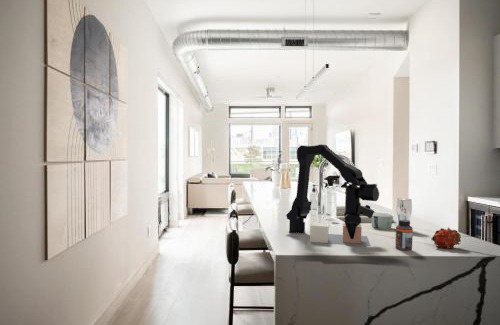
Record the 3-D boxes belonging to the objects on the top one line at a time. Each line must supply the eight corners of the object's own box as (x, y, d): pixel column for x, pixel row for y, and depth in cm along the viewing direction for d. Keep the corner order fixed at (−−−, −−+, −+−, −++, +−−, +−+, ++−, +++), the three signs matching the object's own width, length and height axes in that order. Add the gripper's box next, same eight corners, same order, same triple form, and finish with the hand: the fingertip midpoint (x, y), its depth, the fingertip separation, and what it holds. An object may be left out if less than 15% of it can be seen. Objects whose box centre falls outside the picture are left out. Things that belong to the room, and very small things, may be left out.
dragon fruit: (463, 252, 162) (433, 256, 161) (453, 236, 169) (424, 240, 168) (468, 237, 157) (437, 241, 156) (457, 221, 163) (427, 225, 163)
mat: (308, 243, 165) (308, 242, 165) (311, 233, 186) (311, 232, 186) (370, 247, 160) (370, 246, 160) (367, 237, 181) (367, 236, 181)
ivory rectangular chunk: (309, 241, 167) (310, 225, 167) (311, 238, 174) (311, 222, 174) (328, 242, 165) (328, 226, 165) (328, 239, 172) (328, 223, 172)
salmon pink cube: (342, 242, 167) (343, 226, 167) (342, 238, 174) (342, 223, 174) (361, 243, 165) (361, 227, 165) (360, 239, 172) (360, 224, 172)
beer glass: (412, 231, 197) (413, 200, 197) (397, 230, 199) (398, 199, 198) (409, 228, 204) (410, 198, 204) (395, 228, 206) (395, 198, 205)
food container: (389, 230, 199) (389, 216, 199) (365, 227, 206) (365, 214, 206) (397, 227, 209) (397, 214, 208) (374, 224, 216) (374, 212, 216)
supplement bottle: (392, 248, 160) (393, 219, 159) (407, 248, 160) (408, 219, 160) (399, 251, 154) (400, 221, 154) (415, 251, 154) (415, 221, 154)
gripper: (374, 202, 159) (373, 242, 159) (371, 197, 177) (370, 234, 177) (345, 201, 161) (344, 241, 161) (344, 196, 179) (343, 232, 179)
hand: (351, 237), depth 170 cm, fingers closed on salmon pink cube, 7 cm apart
